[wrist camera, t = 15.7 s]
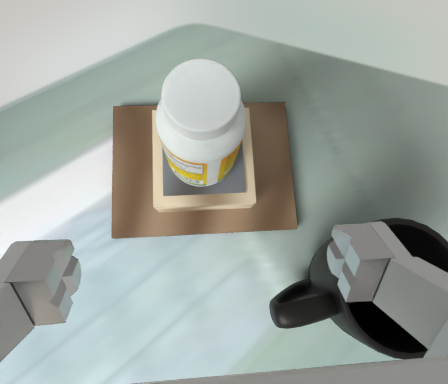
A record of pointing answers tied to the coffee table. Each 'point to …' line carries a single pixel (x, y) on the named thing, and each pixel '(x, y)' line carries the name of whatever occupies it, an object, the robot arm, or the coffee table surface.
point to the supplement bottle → (201, 121)
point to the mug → (365, 310)
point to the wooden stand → (207, 195)
